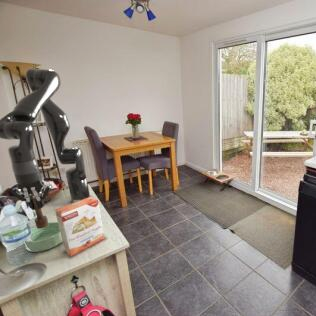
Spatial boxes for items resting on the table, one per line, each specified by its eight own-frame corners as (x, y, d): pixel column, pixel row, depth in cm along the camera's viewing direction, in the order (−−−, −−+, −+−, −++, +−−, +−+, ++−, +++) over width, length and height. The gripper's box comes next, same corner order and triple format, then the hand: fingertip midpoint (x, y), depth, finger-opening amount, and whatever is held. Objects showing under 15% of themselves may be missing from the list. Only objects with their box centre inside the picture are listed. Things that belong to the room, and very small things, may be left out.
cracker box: (71, 257, 92) (60, 214, 85) (64, 251, 95) (53, 209, 88) (105, 239, 103) (98, 199, 96) (98, 234, 106) (91, 195, 99)
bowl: (35, 234, 104) (32, 224, 102) (71, 229, 108) (69, 219, 107) (18, 255, 91) (14, 245, 89) (59, 249, 96) (56, 238, 94)
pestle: (39, 223, 98) (31, 195, 94) (50, 222, 99) (42, 194, 95) (34, 229, 95) (26, 200, 90) (46, 227, 96) (38, 199, 91)
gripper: (51, 165, 94) (60, 201, 100) (10, 168, 90) (22, 205, 95) (43, 172, 87) (53, 210, 93) (-2, 175, 83) (11, 215, 89)
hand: (37, 207), depth 94 cm, fingers closed on pestle, 2 cm apart
